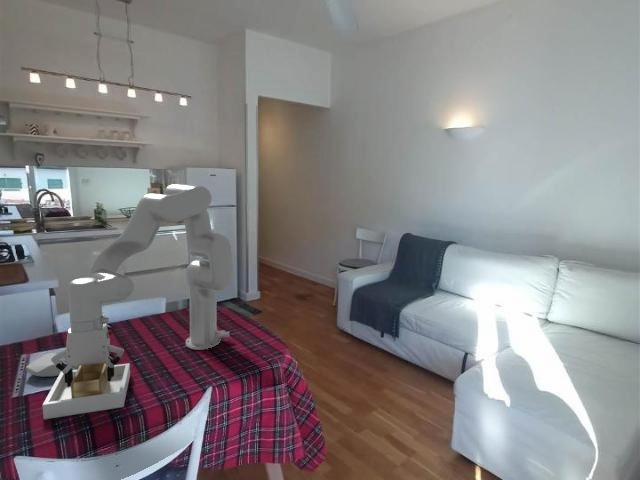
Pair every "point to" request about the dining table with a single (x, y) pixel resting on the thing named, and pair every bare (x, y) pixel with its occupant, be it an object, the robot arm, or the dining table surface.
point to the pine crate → (89, 380)
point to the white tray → (64, 405)
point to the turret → (45, 366)
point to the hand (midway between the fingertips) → (90, 381)
